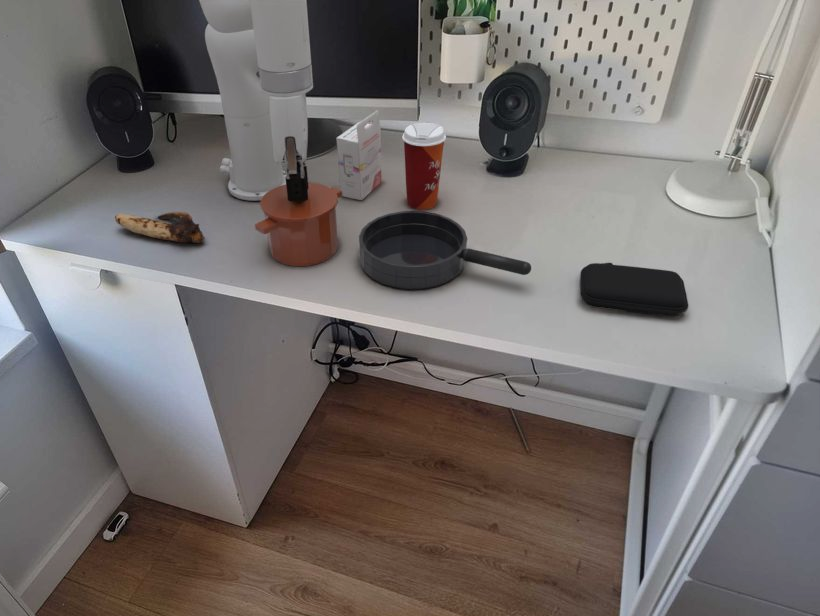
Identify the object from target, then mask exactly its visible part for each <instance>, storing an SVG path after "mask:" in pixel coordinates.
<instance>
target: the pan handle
mask: <svg viewBox="0 0 820 616" xmlns="http://www.w3.org/2000/svg"><path fill="white" fill-rule="evenodd" d="M462 259H463V260H465V262H468V263H472V264H476V265H479V266H480V265H481V266H484V267H489V268H493V269H497V270H501V271H505V272H508V273H509V272H510V273H514V274H518V275H522V276H526V275H529V274H530V273H531V271H532V265H531V264H530V262H528V261H525V260H520V259H516V258H511V257H508V256H504V255H498V254H494V253H490V252H486V251H481V250H477V249H473V248H468V247H466V249H464V250H463V252H462Z"/></svg>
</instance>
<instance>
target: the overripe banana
mask: <svg viewBox="0 0 820 616" xmlns="http://www.w3.org/2000/svg"><path fill="white" fill-rule="evenodd" d="M157 218H158V219H159V220H156V219H151V218H145V217H139V216H137V215H133V214H127V213H126V214H125V213H117V214H116V215H115V216H114V219H115V223H116V224H117V225H120V227H122V228H124V229H125V230H128V231H130V232H132V233H135V234H138V235H144V236H146V237H151V238H155V239H160V240H164V241H170V242H171V241H172V242H177V243H184V244H187V243H194V244H199V243H202V242H204V240H205V236H204V235H203V231H201V229H200V227H199V226H200V223H195V222H194V221H193V217H192V216H191V214H190V213H188V212H184V211H169V212H166V213H165V212H164V213H162V214H159V215H158V216H157ZM169 219H171V220H172V219H176V221H175V222H174V223H170V222H169V223H168V222H165V221H161V220H169Z"/></svg>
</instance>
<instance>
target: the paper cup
mask: <svg viewBox="0 0 820 616" xmlns="http://www.w3.org/2000/svg"><path fill="white" fill-rule="evenodd" d="M444 129H445V128H444V127H443V126H441V125H439V124H437V123H433V122H417V123H412V124H410V125H407V127H406V128H405V129H404V132H403V134H402V137H401V139H402V141H403V146H404V148H403V149H404V151H403V152H404V171H405V173H404V174H405V192H406V193H405V194H406V203H407V206H408V207H410V208H412V209H414V210H418V211H425V210H430V209H432V208H435V207H436V205H437V203H438V196H439V188H440V180H441V173H442V172H441V171H442V162H443V153H444V145H445V141H446V140H447V135H446V132H445V130H444Z"/></svg>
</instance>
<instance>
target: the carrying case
mask: <svg viewBox="0 0 820 616" xmlns="http://www.w3.org/2000/svg"><path fill="white" fill-rule="evenodd" d="M579 277H580V278H579V279H580V280H579V282H580V283H579V287H580V288H579V291H580V292H579V294H580V298H581V300H582V301H584V303H585V304H586V305H587V306H589V307H593V308H599V309H607V310H616V311H623V312H631V313H639V314H648V315H658V316H666V317H667V316H668V317H674V316H680V315H681V314H684V313H685V312H687V310H688V309H689V301H688V296H687V292H686V291H687V290H686V286H685V281H684V280H683V278H682V277H681V276H680V274H679V273H678V272H676V271H672V270H667V269H660V268H659V269H657V268H651V267H650V268H649V267H641V266H632V265H622V264H613V263H612V262H601V263H599V262H595V263H589V264H588V265H586V266H584V267H583V268H582V269H581V270H580V273H579Z"/></svg>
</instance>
